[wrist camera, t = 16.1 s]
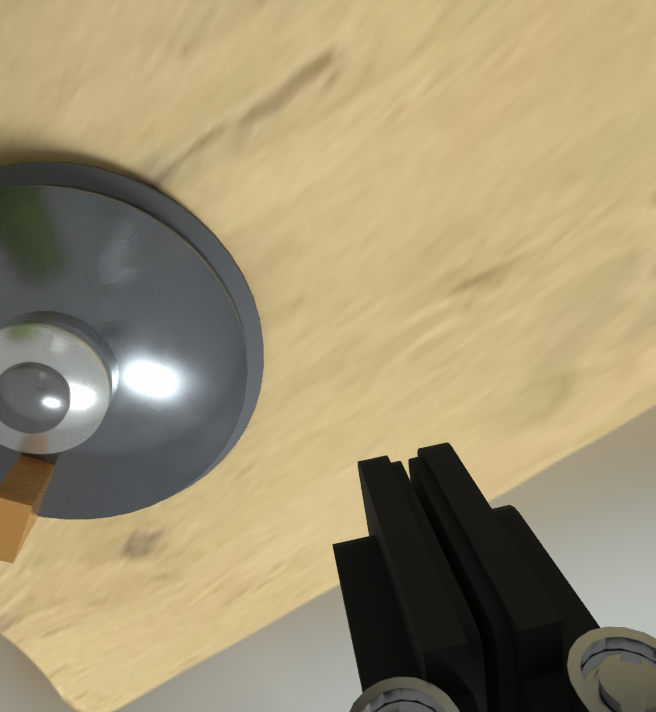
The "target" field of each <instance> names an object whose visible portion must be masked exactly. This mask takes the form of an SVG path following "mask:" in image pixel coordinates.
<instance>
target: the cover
mask: <svg viewBox="0 0 656 712" xmlns="http://www.w3.org/2000/svg"><path fill="white" fill-rule="evenodd" d="M118 378H119V374H118V365H117V361H116V358H115V355H114V353H113V351H112V349H111V347H110V346H109V344H108V343H107V341H106V340H105V339H104V338H103V337H102V335H101V334H100V333H99V332H97V331H96V330H95V329H94V328H93V327H91V326H90V325H88V324H87V323H85V322H84V321H82V320H80V319H78V318H76V317H73V316H71V315H67V314H64V313H60V312H54V311H33V312H28V313H24V314H21V315H18V316H15V317H13V318H11V319H9V320H8V321H6V322H5V323H3V324H2V325H1V326H0V444H1V445H3V446H5V447H8V448H10V449H13V450H16V451H20V452H25V453H32V454H51V453H57V452H62V451H65V450H68V449H71V448H73V447H75V446H77V445H79V444H81V443H82V442H84V441H85V440H87V439H88V438H89V437H90V436H91V435H92V434H93V433H94V432H95V431H96V430H97V428H98V427H99V425H100V423H101V422H102V420H103V417H104V415H105V413H106V411H107V409H108V407H109V405H110V403H111V401H112V399H113V397H114V394H115V392H116V389H117V385H118Z"/></svg>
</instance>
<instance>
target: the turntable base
mask: <svg viewBox="0 0 656 712" xmlns="http://www.w3.org/2000/svg"><path fill="white" fill-rule="evenodd" d="M28 184H58V185H69V186H77V187H82V188H87V189H91V190H96V191H100V192H104V193H107V194H110V195H113V196H115V197H118V198H121V199H124V200H127V201H129V202H131V203H133V204H135V205H137V206H139V207H141V208H143V209H145V210H147V211H149V212H151V213H153V214H155V215H156V216H158V217H159V218H161V219H162V220H164V221H165V222H167V223H168V224H170V225H172V226H173V227H174V228H175V229H177V230H178V231H179V232H180V233H181V234H183V235H184V236H185V237H186V238H187V239H189V240H190V241H191V242H192V243H193V244H194V245H195V246H196V247H197V248H198V249H199V250H200V251H201V252H202V254H203V255H204V256H205V257H206V258H207V259H208V260H209V261H210V263H211V264H212V265H213V267H214V268H215V270H216V271H217V272H218V274H219V275H220V276H221V278H222V279H223V281H224V283H225V285H226V287H227V288H228V290H229V292H230V294H231V296H232V298H233V300H234V302H235V305H236V308H237V310H238V313H239V315H240V318H241V321H242V326H243V330H244V334H245V339H246V349H247V364H248V371H247V388H246V394H245V399H244V404H243V409H242V412H241V415H240V417H239V420H238V423H237V426H236V428H235V430H234V432H233V434H232V436H231V438H230V439H229V441H228V443H227V445H226V446H225V448H224V449H223V450H222V452H221V453H220V455H219V456H218V457H217V459H216V460H215V461H214V462H213V463H212V464H211V465H210V466H209V467H208V468H207V470H206V471H205V472H204V473H203V474H202V475H201V476H199V477H198V478H197V479H196V480H194V481H193V482H192V483H191V484H189V485H188V486H187V487H185V488H184V489H186V488H188V487H190V486H191V485H193V484H194V483H196V482H197V481H198V480H200V479H201V478H203V477H204V476H205V475H207V474H208V473H209V472H210V471H211V470H212V469H214V468H215V467H216V466H217V465H218V464H219V463H220V462H221V461H222V460H223V459H224V458H225V457H226V456H227V454H228V453H229V452H230V451H231V450H232V448H233V447H234V446H235V445H236V443H237V442H238V440H239V439H240V437H241V435H242V434H243V432H244V431H245V429H246V428H247V425H248V423H249V421H250V419H251V416H252V414H253V412H254V410H255V407H256V403H257V400H258V396H259V393H260V389H261V383H262V376H263V368H264V361H263V338H262V331H261V324H260V318H259V315H258V311H257V308H256V305H255V301H254V298H253V295H252V293H251V291H250V289H249V286H248V284H247V282H246V280H245V277H244V275H243V274H242V272H241V270H240V269H239V267H238V265H237V264H236V262H235V261H234V259H233V257H232V256H231V254H230V253H229V252H228V251H227V249H226V248H225V247H224V246H223V244H222V243H221V242H220V241H219V239H218V238H217V237H216V236H215V235H214V234H213V233H212V232H211V231H210V230H209V229H208V228H207V227H206V226H205V225H204V224H203V223H202V222H201V221H200V220H199V219H198V218H197V217H196V216H194V215H193V214H192V213H191V212H189V211H188V210H187V209H185V208H184V207H183V206H181V205H180V204H179V203H177V202H176V201H175V200H173V199H171V198H170V197H168V196H166V195H164V194H163V193H161V192H159V191H157V190H156V189H154V188H152V187H150V186H148V185H146V184H144V183H141V182H139V181H137V180H134V179H132V178H130V177H127V176H125V175H122V174H118V173H115V172H111V171H108V170H105V169H101V168H98V167H92V166H86V165H80V164H74V163H65V162H32V163H22V164H12V165H6V166H1V167H0V188H6V187H12V186H18V185H28ZM184 489H182V490H184ZM182 490H180V491H182ZM180 491H179V492H180ZM179 492H177V493H179ZM177 493H176V494H177ZM174 495H175V494H174ZM172 496H173V495H172Z"/></svg>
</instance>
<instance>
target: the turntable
mask: <svg viewBox="0 0 656 712" xmlns="http://www.w3.org/2000/svg"><path fill="white" fill-rule="evenodd" d="M33 311H54V312H60V313H64V314H67V315H71V316H73V317H76V318H78V319H80V320H82V321H84V322H85V323H87V324H88V325H90V326H91V327H93V328H94V329H95V330H96V331H97V332H99V333H100V334H101V335H102V337H103V338H104V339H105V340H106V341H107V343H108V344H109V346H110V347H111V349H112V351H113V353H114V355H115V358H116V361H117V365H118V374H119V378H118V385H117V389H116V392H115V394H114V397H113V399H112V401H111V403H110V405H109V407H108V409H107V411H106V413H105V415H104V417H103V420H102V422H101V423H100V425H99V427H98V428H97V430H96V431H95V432H94V433H93V434H92V435H91V436H90V437H89V438H88V439H87V440H85V441H84V442H82V443H81V444H79V445H77V446H75V447H73V448H71V449H68V450H65V451H62V452H57V453H51V454H32V453H25V452H20V451H16V450H13V449H10V448H8V447H5V446H3V445H1V444H0V560H1V561H5V562H10V563H14V561H15V559H16V557H17V555H18V553H19V551H20V549H21V547H22V546H23V544H24V542H25V540H26V538H27V536H28V534H29V532H30V530H31V529H32V527H33V525H34V523H35V521H36V519H37V517H38V516H41V517H48V518H58V519H96V518H105V517H112V516H117V515H122V514H126V513H131V512H134V511H137V510H140V509H143V508H146V507H149V506H152V505H154V504H156V503H158V502H160V501H163V500H165V499H167V498H169V497H171V496H172V495H174V494H176V493H177V492H179V491H180V490H182V489H184V488H185V487H187V486H188V485H189V484H191V483H192V482H193V481H194V480H196V479H197V478H198V477H199V476H201V475H202V474H203V473H204V472H205V471H206V470H207V468H208V467H209V466H210V465H211V464H212V463H213V462H214V461H215V460H216V459H217V457H218V456H219V455H220V453H221V452H222V450H223V449H224V448H225V446H226V445H227V443H228V441H229V439H230V438H231V436H232V434H233V432H234V430H235V428H236V426H237V423H238V420H239V417H240V415H241V412H242V409H243V404H244V399H245V394H246V388H247V371H248V364H247V349H246V339H245V334H244V330H243V326H242V321H241V318H240V315H239V313H238V310H237V308H236V305H235V302H234V300H233V298H232V296H231V294H230V292H229V290H228V288H227V287H226V285H225V283H224V281H223V279H222V278H221V276H220V275H219V274H218V272H217V271H216V270H215V268H214V267H213V265H212V264H211V263H210V261H209V260H208V259H207V258H206V257H205V256H204V255H203V254H202V252H201V251H200V250H199V249H198V248H197V247H196V246H195V245H194V244H193V243H192V242H191V241H190V240H189V239H187V238H186V237H185V236H184V235H183V234H181V233H180V232H179V231H178V230H177V229H175V228H174V227H173V226H172V225H170V224H168V223H167V222H165V221H164V220H162V219H161V218H159V217H158V216H156V215H155V214H153V213H151V212H149V211H147V210H145V209H143V208H141V207H139V206H137V205H135V204H133V203H131V202H129V201H127V200H124V199H121V198H118V197H115V196H113V195H110V194H107V193H104V192H100V191H96V190H91V189H87V188H82V187H77V186H69V185H58V184H28V185H18V186H12V187H6V188H0V326H1V325H2V324H3V323H5V322H6V321H8V320H9V319H11V318H13V317H15V316H18V315H21V314H24V313H28V312H33Z"/></svg>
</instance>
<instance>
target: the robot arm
mask: <svg viewBox="0 0 656 712" xmlns="http://www.w3.org/2000/svg"><path fill="white" fill-rule="evenodd" d="M417 454H418V457H415V458H411V459H409V472H410V479H409V477H408V475H407V473H406V471H405V469H404V466H403V464H402V462H401V461H397V462H392V463H391V462H390V460H389V458H388V456H387V455H386V456H381V457H377V458H372V459H367V460H363V461H358V470H359V477H360V483H361V489H362V495H363V501H364V507H365V513H366V519H367V525H368V532H369V536H368V537H364V538H359V539H355V540H350V541H346V542H341V543H337V544H333V550H334V555H335V560H336V565H337V570H338V575H339V580H340V585H341V590H342V595H343V600H344V605H345V609H346V615H347V619H348V624H349V629H350V634H351V639H352V643H353V648H354V653H355V658H356V663H357V667H358V673H359V678H360V682H361V687H362V692H363V693H362V694H361V695H360V697H359V698H358V699H357V700H356V701H355V702H354V703H353V706H352V708H351V710H350V712H656V638H654V637H652V636H650V635H648V634H646V633H644V632H640V631H636V630H633V629H629V628H625V627H603V628H600V626H599V625H598V624H597V622H596V621H595V619H594V618H593V617H592V615H591V614H590V612H589V611H588V610H587V608H586V607H585V605H584V604H583V602H582V601H581V600H580V598H579V597H578V595H577V594H576V592H575V591H574V590H573V588H572V587H571V585H570V584H569V583H568V581H567V580H566V578H565V577H564V575H563V574H562V573H561V571H560V570H559V568H558V567H557V566H556V564H555V563H554V561H553V560H552V558H551V557H550V556H549V554H548V553H547V551H546V550H545V549H544V547H543V546H542V544H541V543H540V541H539V540H538V539H537V537H536V536H535V534H534V533H533V532H532V530H531V529H530V527H529V526H528V525H527V523H526V522H525V520H524V519H523V518H522V516H521V515H520V513H519V512H518V511H517V510H516V509H515V507H513V506H511V505H507V506H503V507H498V508H494V509H492V508H491V507H490V505H489V504H488V502H487V501H486V499H485V498H484V496H483V494H482V493H481V491H480V490H479V488H478V487H477V485H476V483H475V482H474V480H473V479H472V477H471V476H470V474H469V473H468V471H467V469H466V468H465V466H464V465H463V463H462V462H461V460H460V459H459V457H458V455H457V454H456V452H455V451H454V449H453V448H452V446H451V445H450V444H449V443H442V444H438V445H433V446H428V447H423V448H419V449H418V453H417ZM410 481H411V482H410Z"/></svg>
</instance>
